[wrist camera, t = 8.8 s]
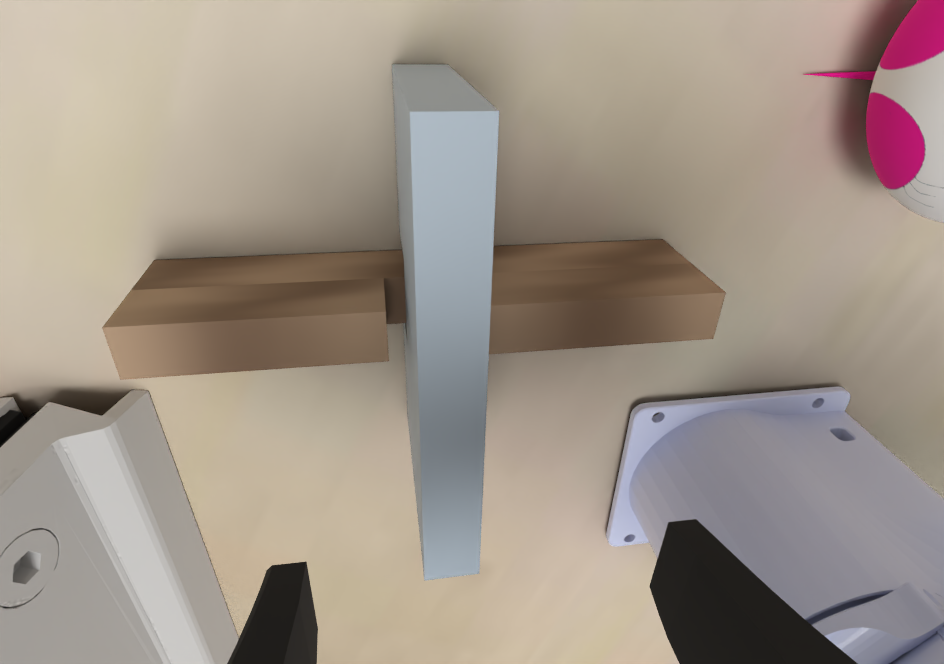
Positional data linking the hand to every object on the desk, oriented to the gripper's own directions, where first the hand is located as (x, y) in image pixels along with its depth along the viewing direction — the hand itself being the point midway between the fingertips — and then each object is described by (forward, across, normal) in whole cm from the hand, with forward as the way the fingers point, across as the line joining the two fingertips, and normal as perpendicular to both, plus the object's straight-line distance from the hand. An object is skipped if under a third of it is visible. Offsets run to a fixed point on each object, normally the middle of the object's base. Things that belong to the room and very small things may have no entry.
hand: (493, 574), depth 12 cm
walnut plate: (+10, 0, -2) cm, 10 cm away
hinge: (+10, +13, +10) cm, 19 cm away
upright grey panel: (+10, 0, -2) cm, 10 cm away
